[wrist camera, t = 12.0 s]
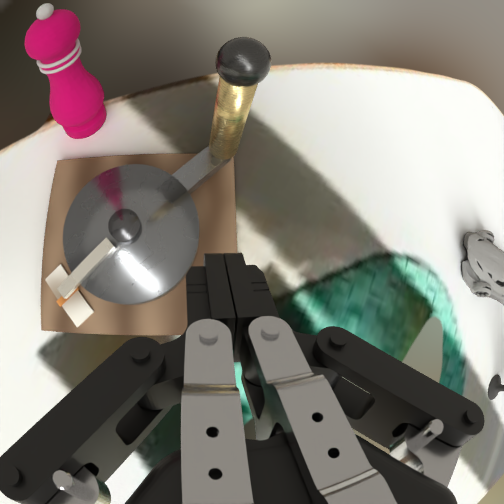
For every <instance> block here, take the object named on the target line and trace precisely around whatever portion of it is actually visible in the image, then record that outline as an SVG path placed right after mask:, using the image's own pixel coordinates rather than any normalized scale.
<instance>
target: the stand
mask: <svg viewBox="0 0 504 504" xmlns="http://www.w3.org/2000/svg"><path fill="white" fill-rule="evenodd" d="M196 155H197V154H139V155H118V156H103V157H90V158H78V159H68V160H59V161H57V165H56V169H55V174H54V179H53V184H52V189H51V195H50V201H49V207H48V214H47V221H46V229H45V237H44V248H43V260H42V278H41V329H42V330H44V331H56V332H70V333H88V334H113V335H182V334H183V333H184V332H185V330H186V328H187V298H186V276H185V278H184V279H183V280H182V281H181V283H180V284H179V285H178V286H177V287H176V288H174V289H173V290H172V291H171V292H169V293H168V294H166V295H165V296H163V297H161V298H159V299H157V300H155V301H152V302H149V303H145V304H140V305H123V304H117V303H113V302H109V301H105V300H103V299H100V298H98V297H96V296H95V295H93V294H91V293H90V292H88V291H87V290H86V289H85V288H84V287H82V286H81V284H80V285H79V286H78V287H77V289H76V290H75V291H74V292H73V293H72V294H71V295H70V296H69V297H68V298H67V299H64V298H63V296H62V295H61V294H60V292H59V291H58V290H57V288H58V287H59V286H60V285H61V284H62V283H63V282H64V281H65V279H66V278H67V277H68V276H69V275H70V274H71V273H72V272H71V270H70V268H69V266H68V264H67V261H66V258H65V254H64V249H63V228H64V223H65V219H66V216H67V213H68V210H69V208H70V206H71V204H72V202H73V200H74V199H75V197H76V196H77V194H78V193H79V192H80V191H81V189H82V188H83V187H84V186H85V185H86V184H87V183H88V182H90V181H91V180H92V179H93V178H95V177H96V176H98V175H99V174H101V173H103V172H105V171H107V170H109V169H112V168H115V167H118V166H123V165H130V164H143V165H149V166H153V167H156V168H159V169H161V170H164V171H166V172H168V173H169V174H171V175H172V174H174V173H175V172H176V171H177V170H178V169H180V168H181V167H182V166H183V165H185V164H186V163H187V162H188V161H190V160H191V159H192V158H193V157H195V156H196ZM190 195H191V197H192V199H193V201H194V203H195V206H196V209H197V213H198V218H199V242H198V249H197V253H196V257H195V259H194V262H193V264H192V266H203V263H204V253H237V233H236V208H235V182H234V156H233V157H232V158H231V161H230V162H229V163H227V164H226V165H225V166H224V167H222V168H221V169H220V170H219V171H218V172H216V173H215V174H214V175H213V176H212V177H210V178H209V179H208V180H207V181H206V182H204V183H203V184H202V185H201V186H200V187H198V188H197V189H196V190H195V191H194V192H193V193H191V194H190Z"/></svg>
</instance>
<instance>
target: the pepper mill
mask: <svg viewBox="0 0 504 504" xmlns="http://www.w3.org/2000/svg"><path fill="white" fill-rule="evenodd" d="M36 16H37V18H38V19H37V20H36V21H35V22H34V23H33V24H32V25H31V26H30V28H29V29H28V31H27V34H26V37H25V48H26V51H27V53H28V55H29V56H30V57H31V58H33V59H36V60H37V65H38V66H39V68H40V71H41V72H42V73H44V74H47V76H48V78H49V81H50V109H51V113H52V115H53V118H54V120H55V121H56V122H57V123H58V124H60V125H62V126H63V128H64V130H65V132H66V133H67V135H68V136H70V137H72V138H75V139H82V138H86V137H88V136H90V135H92V134H94V133H95V132H96V131H98V130H99V129H100V128H101V126H102V125H103V123H104V122H105V119H106V110H105V107H104V104H103V100H104V91H103V88H102V86H101V84H100V82H99V81H98V80H97V79H96V78H95V77H94V76H93V75H91V74H90V73H88V71H86V70H85V68H84V67H83V65H82V63H81V61H80V58H79V55H80V54H81V46H80V42H79V40H78V39H77V38H78V36H79V33H80V23H79V20H78V17H77V16H76V15H75V14H74V13H73V12H71V11H69V10H63V9H61V10H60V9H58V10H54V8H53V6H52V5H51V4H49V3H47V4H43V5H41V6H40V7H39V8H38V10H37V12H36Z"/></svg>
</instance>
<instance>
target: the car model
mask: <svg viewBox="0 0 504 504" xmlns="http://www.w3.org/2000/svg"><path fill="white" fill-rule="evenodd" d="M486 238H487V239H486ZM493 242H494V236H493V233H492V232H490V231H487V230H482V231H479V232H477V233H472V232H467V233H466V235H465V238H464V243H463V245H464V247H465V249H466V251H467V255H468V259H467V260H466V261H463V262H462V276H463V279H464V281H465V283H466V284H467V285H468V287H469V288H470V290H471V292H472V293H473V294H476V295H477V296H478V297H491V298H493V299H495V300H497V301H499V302H500V303H502V304H503V305H504V252H503V251H502V250H500V249H499V248H498V247H496V246H495V245H494V244H493Z"/></svg>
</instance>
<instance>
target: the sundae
mask: <svg viewBox="0 0 504 504" xmlns="http://www.w3.org/2000/svg"><path fill="white" fill-rule="evenodd" d="M499 391H504V385H502V384H501V378H500V376H499V375H495V376H494V377H493V379H492V380H491V382H490V385H489V389H488V396H489V399H491V400H493V399H494V398H495V397H496V396H497V394H498V392H499Z"/></svg>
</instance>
